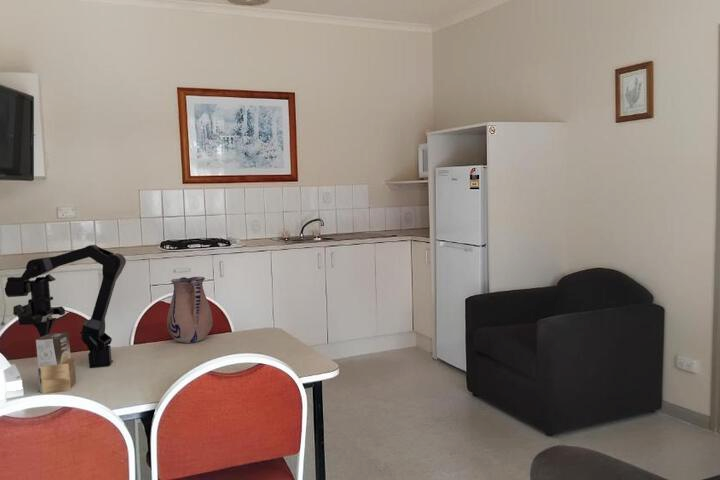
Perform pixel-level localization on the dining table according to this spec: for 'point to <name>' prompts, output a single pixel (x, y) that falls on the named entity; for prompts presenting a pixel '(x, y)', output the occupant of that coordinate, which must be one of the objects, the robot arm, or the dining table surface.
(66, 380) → the tan wooden block
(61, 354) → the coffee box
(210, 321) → the ceramic pitcher
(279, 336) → the dining table surface
